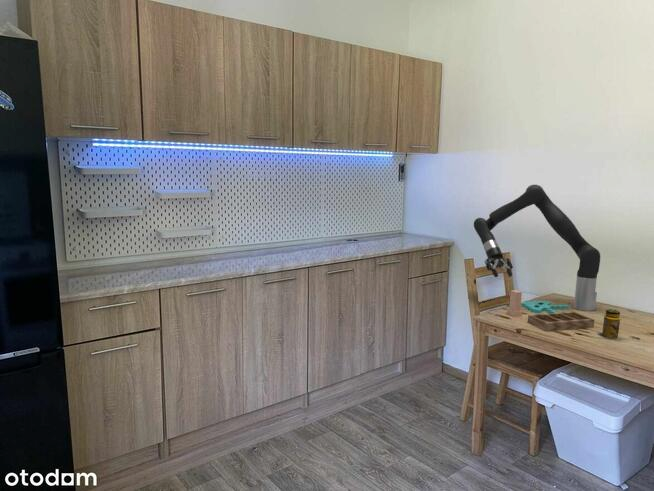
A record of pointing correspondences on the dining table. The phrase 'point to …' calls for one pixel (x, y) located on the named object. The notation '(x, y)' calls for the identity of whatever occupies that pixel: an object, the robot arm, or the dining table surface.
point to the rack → (560, 321)
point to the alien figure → (542, 306)
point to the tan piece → (515, 303)
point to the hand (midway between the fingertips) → (503, 276)
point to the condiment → (610, 325)
